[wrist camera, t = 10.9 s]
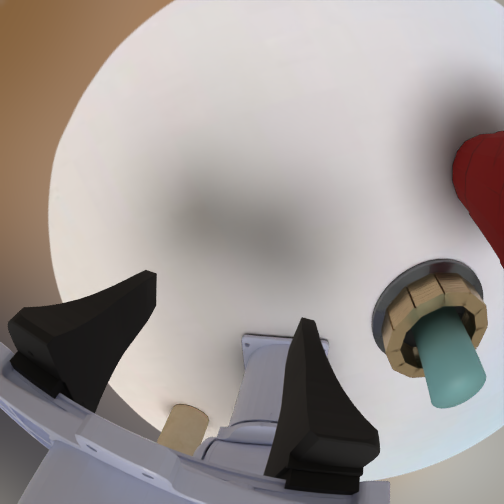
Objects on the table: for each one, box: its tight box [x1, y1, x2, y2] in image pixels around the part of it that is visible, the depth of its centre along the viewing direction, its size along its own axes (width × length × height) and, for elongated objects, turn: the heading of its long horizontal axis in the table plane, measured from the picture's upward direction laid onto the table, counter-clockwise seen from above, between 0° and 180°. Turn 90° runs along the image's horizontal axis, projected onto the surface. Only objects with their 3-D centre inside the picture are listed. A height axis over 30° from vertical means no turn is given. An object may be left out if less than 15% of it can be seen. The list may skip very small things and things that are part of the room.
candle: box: [157, 405, 209, 456], centre depth 32 cm, size 6×6×10 cm
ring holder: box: [372, 259, 488, 378], centre depth 20 cm, size 11×11×3 cm
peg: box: [411, 306, 486, 408], centre depth 18 cm, size 4×4×8 cm
